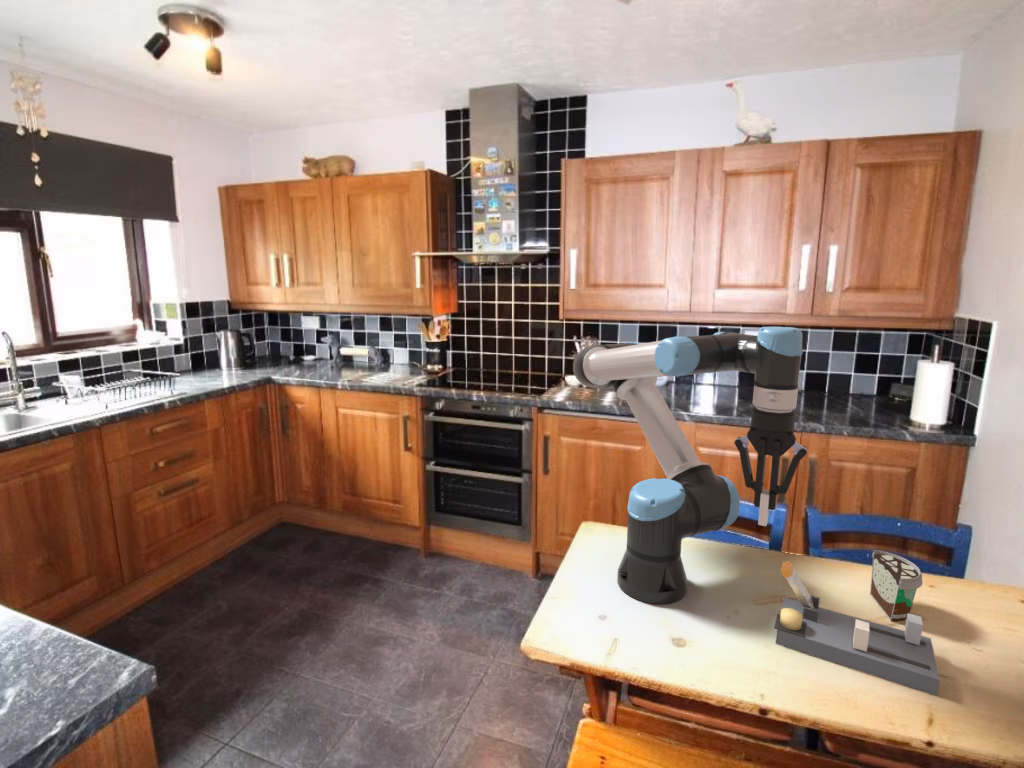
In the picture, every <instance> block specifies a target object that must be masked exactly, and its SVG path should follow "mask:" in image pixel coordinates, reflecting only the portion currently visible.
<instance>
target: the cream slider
mask: <svg viewBox="0 0 1024 768" xmlns="http://www.w3.org/2000/svg"><path fill="white" fill-rule="evenodd" d="M869 632H870V631H869V623H868V622H864V621H861V620H857V619H856V621H855V628H854V636H853V648H855V649H859V650H862V651H865V652H867V646H868V639H869Z"/></svg>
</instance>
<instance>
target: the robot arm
mask: <svg viewBox="0 0 1024 768" xmlns="http://www.w3.org/2000/svg"><path fill="white" fill-rule="evenodd" d="M803 354H804V351H803V332H802V331H801V329H800V328H797V327H792V326H791V327H790V326H785V327H784V326H763V327H760V328H759V330H758V335H755V334H754V335H753V334H744V333H737V332H734V331H718V332H715V333H713V334H708V335H707V334H706V335H690V336H683V335H678V336H671V337H667V338H666V337H665V338H664V339H662V340H657V341H651V342H645V343H641V342H631V341H629V342H624V343H612V344H611V343H610V344H608V343H606V344H594V345H590V346H587V347H585V348H583V349H582V350H580V351H579V352H578V353H577V354H576V355H575V357H574V360H573V363H572V370H573V374H574V376H575V378H576V380H577V381H578V382H579V383H581V385H583V386H584V387H588V388H591V389H605V388H606V389H607V388H611V389H613V390H614V393H615V395H616V396H617V398H618V399H620V400H623V401H625V402H626V403H627V404H628V407H629V409H630V410H631V412H632V414H633V416H634V417H635V420H636V422H637V423H638V426H639V427H640V429H641V431H642V433H643V435H644V436H645V438H646V440H647V442H648V444H649V446H650V448H651V449H652V452H653V453H654V455H655V457H656V459H657V461H658V463H659V465H660V467H661V469H662V470H663V473H664V474H665V477H666V478H665V477H664V478H662V477H661V478H659V479H658V478H655V477H654V478H649V479H644V480H641V481H639V482H637V483H635V485H633V487H632V488H631V489H630V490H629V495H628V503H627V526H626V527H627V532H626V549H625V552H624V554H623V556H622V559H621V562H620V564H619V567H618V569H617V584H618V587H619V588H620V589H621V591H623V592H624V594H626V595H628V596H629V597H631V598H634V599H636V600H638V601H640V602H644V603H648V604H655V605H656V604H659V605H661V604H662V605H663V604H664V605H665V604H670V603H671V604H672V603H675V602H678V601H680V600H681V599H683V598H684V597H685V596H686V593H687V590H688V577H687V575H686V570H685V567H684V564H683V560H682V555H681V554H682V553H681V552H682V540H683V539H686V538H690V537H693V536H697V535H702V534H706V533H710V532H717V531H720V530H721V529H724V528H727V527H729V526H732V525H733V524H734V523H735V521H736V520H737V518H738V517H739V514H740V507H741V502H740V501H741V500H740V495H739V492H738V489H737V486H736V485H735V484H734V483H733V481H732V480H730V479H729V477H725V476H724V475H717V474H716V473H715V471H714V470H713V468H712V466H711V465H710V464H709V463H706V462H702V461H701V460H700V459H699V457H698V455H697V454H696V452H695V450H694V449H693V447H692V446H691V443H690V442H689V440H688V438H687V436H686V435H685V434H684V431H683V430H682V428H681V426H680V425H679V423H678V422H677V419H676V417H675V416H674V414H673V413H672V410H670V407H669V406H668V404H667V402H666V401H665V398H664V397H663V395H662V394H661V392H660V391H659V389H658V387H657V385H656V384H657V382H658V377H660V378H661V377H676V378H677V377H683V376H684V377H685V376H691V375H699V374H700V375H701V374H711V373H720V372H721V373H723V372H729V371H730V372H731V371H734V372H735V371H736V372H742V373H743V372H744V373H749V374H753V375H754V382H753V383H754V385H753V394H752V405H753V408H751V418H750V428H749V429H748V431H747V432H746V435H744V436H742V437H741V436H737V437H736V439H735V441H734V442H733V443H734V445H735V447H736V448H737V450H738V452H739V457H740V464H741V468H742V474H743V479H744V484H745V487H746V488H748V489H752V490H753V491H754V498H753V506H754V507H755V508H759V509H758V520H757V521H758V522H757V525H759V526H762V527H767V525H768V524H769V523H768V522H769V514H770V511H775V509H776V506H777V499H778V498H777V495H786V494H787V492H788V490H789V487H790V485H791V482H792V480H793V478H794V476H795V473H796V470H797V469H798V466H799V464H800V462H801V460H802V459H803V458H804V457H806V455H807V454H808V447H807V446H805V445H802V444H800V443H799V442H797V437H796V436H795V431H794V430H795V424H796V423H795V422H796V412H795V410H796V408H797V401H798V393H799V378H800V377H799V376H800V370H801V361H802V358H803V357H802V355H803ZM749 443H750V444H751V445H752V446H753V448H754V450H755V452H756V453H757V456H756V457H757V463H756V472H755V473H756V474H755V479H754V474H753V469H752V465H751V460H750V453H749V448H748V446H749ZM791 448H792V451H791V453H792V454H793V457H792V458H791V461H790V464H789V466H788V468H787V470H786V473H785V477H784V479H783V481H782V483H781V485H779V478H780V467H781V458H782V456H783V455H784V454H786V453H787V452H788V451H789V450H790V449H791ZM767 456H771V468H770V480H769V481H770V482H769V489H764V488H763V487H764V486H765V485H764V481H765V471H766V461H767V460H766V459H767Z"/></svg>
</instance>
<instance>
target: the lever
mask: <svg viewBox="0 0 1024 768" xmlns="http://www.w3.org/2000/svg"><path fill="white" fill-rule="evenodd" d="M780 572H781V574H782V576H783V577H784V579H785V580H786V581H787V583H788V584H789V586H790V588H791V589H792V591H793V592H794V594H795V595H796V597H797V599H798V600H799V602H801V604H802V605H803V607H804V606H805V607H808V608H812V609H814V606H815V603H814V602H813V599H812V598H811V596H812V595H811V594H810V593H809V591H808V589H807V588H806V586H805V585H804V584H803V581H802V580H801V578H800V576H799V575H798V573H797V572H796V571H795V568H794V566H793V564H792V563H791V561H790V560H786V561H784V562H782V564H781V567H780ZM810 595H811V596H810Z"/></svg>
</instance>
